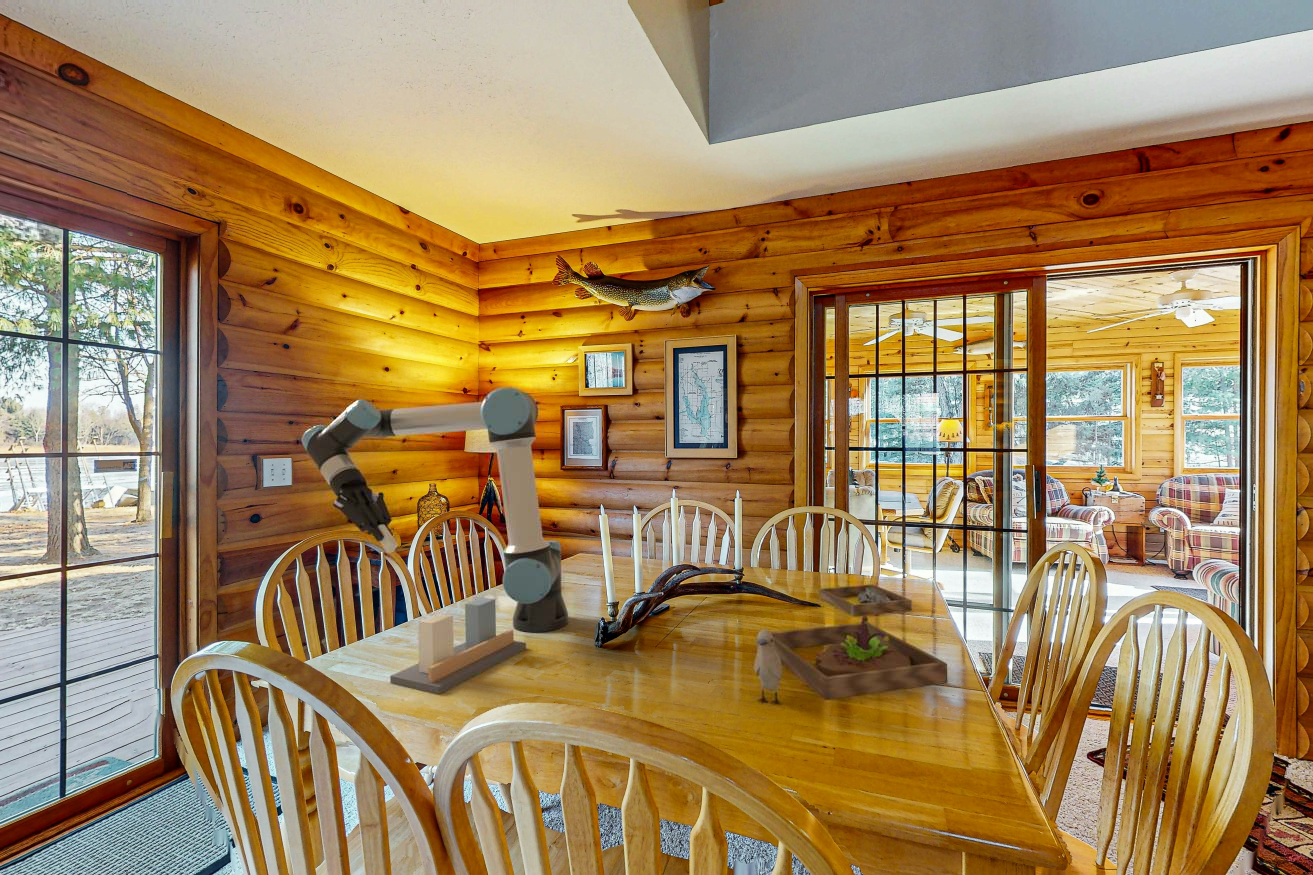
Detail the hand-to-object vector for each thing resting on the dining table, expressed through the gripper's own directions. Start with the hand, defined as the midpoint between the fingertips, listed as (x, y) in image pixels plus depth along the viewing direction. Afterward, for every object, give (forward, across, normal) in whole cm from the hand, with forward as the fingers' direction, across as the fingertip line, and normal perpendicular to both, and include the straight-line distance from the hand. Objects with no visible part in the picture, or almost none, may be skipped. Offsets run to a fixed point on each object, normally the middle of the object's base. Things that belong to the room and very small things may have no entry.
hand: (392, 548), depth 141 cm
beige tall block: (+29, +3, -5) cm, 30 cm away
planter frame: (+88, -39, +51) cm, 109 cm away
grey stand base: (+31, -4, -6) cm, 32 cm away
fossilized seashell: (+89, -89, +51) cm, 136 cm away
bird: (+80, -13, +43) cm, 91 cm away
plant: (+91, -39, +53) cm, 112 cm away
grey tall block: (+29, -11, -5) cm, 32 cm away
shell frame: (+86, -88, +49) cm, 133 cm away
